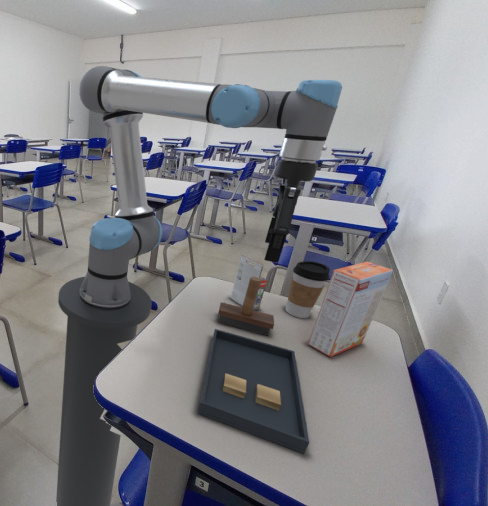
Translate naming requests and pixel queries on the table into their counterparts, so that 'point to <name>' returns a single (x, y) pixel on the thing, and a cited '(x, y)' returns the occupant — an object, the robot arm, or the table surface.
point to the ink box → (247, 281)
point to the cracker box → (349, 307)
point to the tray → (255, 372)
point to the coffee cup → (306, 287)
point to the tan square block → (234, 385)
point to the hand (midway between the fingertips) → (270, 251)
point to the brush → (247, 312)
